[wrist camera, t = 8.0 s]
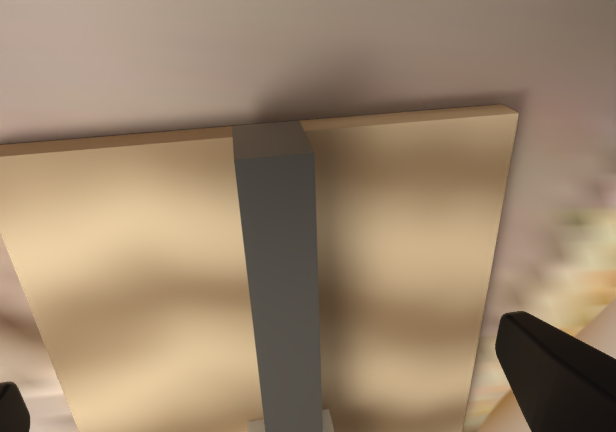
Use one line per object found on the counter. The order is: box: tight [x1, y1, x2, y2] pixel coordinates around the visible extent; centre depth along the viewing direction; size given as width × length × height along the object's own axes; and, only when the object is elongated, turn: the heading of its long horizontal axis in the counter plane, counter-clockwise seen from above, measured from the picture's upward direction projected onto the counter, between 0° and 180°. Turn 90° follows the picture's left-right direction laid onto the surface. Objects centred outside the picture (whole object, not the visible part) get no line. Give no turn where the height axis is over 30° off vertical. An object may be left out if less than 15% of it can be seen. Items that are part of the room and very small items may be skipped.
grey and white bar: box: [232, 120, 334, 432], centre depth 19 cm, size 19×4×3 cm, turn 2°
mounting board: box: [0, 104, 519, 432], centre depth 23 cm, size 30×18×1 cm, turn 2°
